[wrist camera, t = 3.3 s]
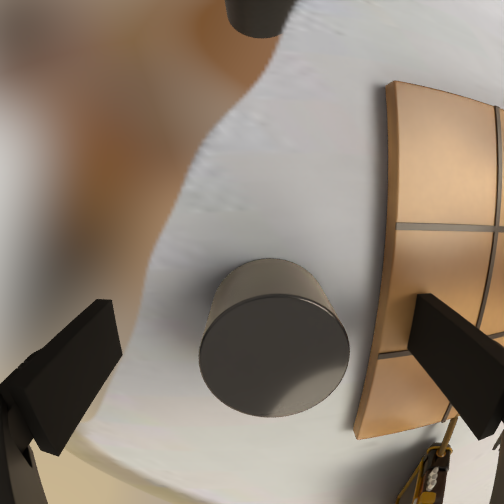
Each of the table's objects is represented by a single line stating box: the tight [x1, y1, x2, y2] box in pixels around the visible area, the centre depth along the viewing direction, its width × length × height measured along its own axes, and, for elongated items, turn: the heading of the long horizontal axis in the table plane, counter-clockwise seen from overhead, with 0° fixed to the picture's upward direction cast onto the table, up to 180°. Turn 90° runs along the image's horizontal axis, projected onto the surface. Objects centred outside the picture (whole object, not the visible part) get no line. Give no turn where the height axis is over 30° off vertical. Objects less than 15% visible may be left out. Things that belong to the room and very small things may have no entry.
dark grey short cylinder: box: [198, 258, 350, 417], centre depth 12 cm, size 5×5×4 cm
